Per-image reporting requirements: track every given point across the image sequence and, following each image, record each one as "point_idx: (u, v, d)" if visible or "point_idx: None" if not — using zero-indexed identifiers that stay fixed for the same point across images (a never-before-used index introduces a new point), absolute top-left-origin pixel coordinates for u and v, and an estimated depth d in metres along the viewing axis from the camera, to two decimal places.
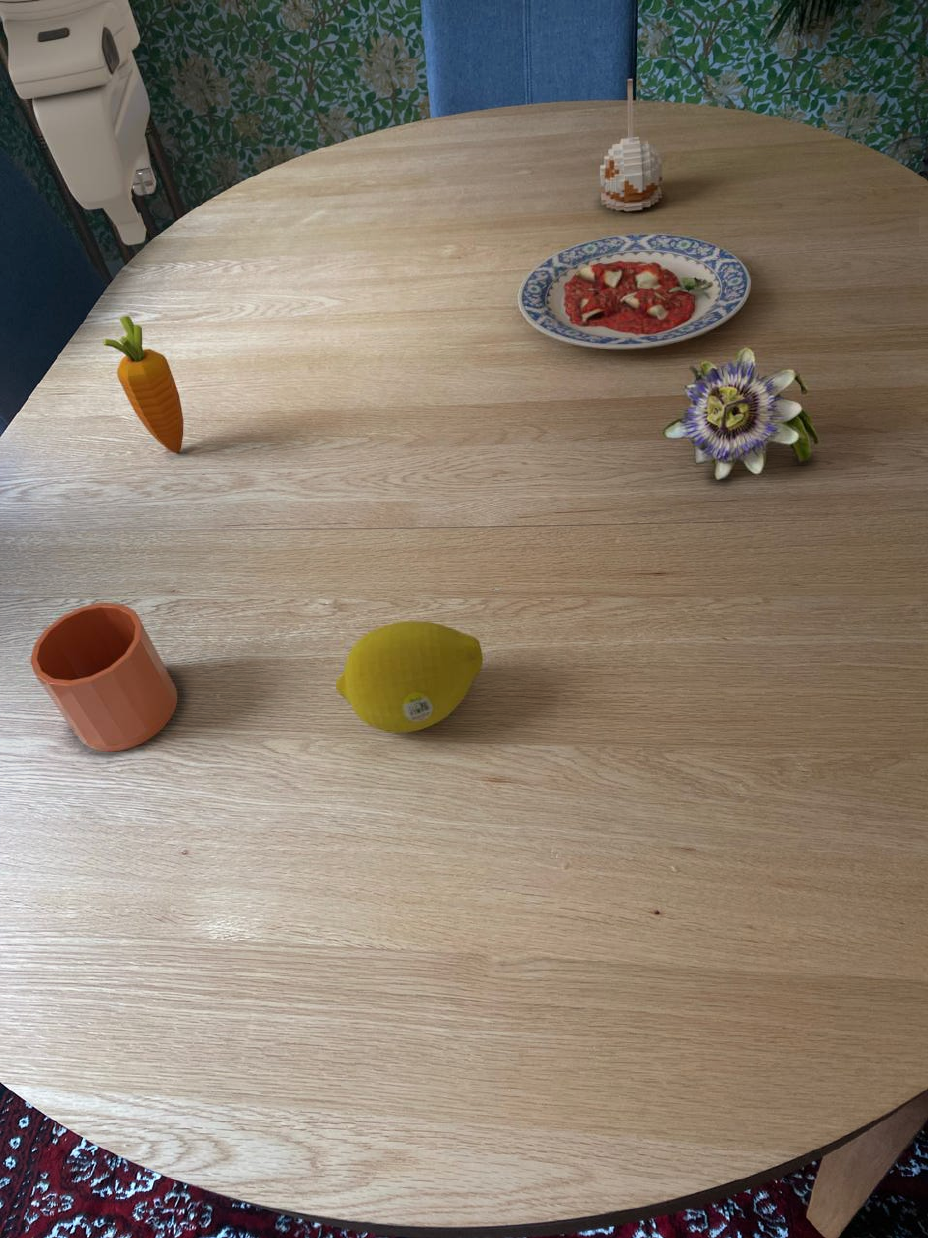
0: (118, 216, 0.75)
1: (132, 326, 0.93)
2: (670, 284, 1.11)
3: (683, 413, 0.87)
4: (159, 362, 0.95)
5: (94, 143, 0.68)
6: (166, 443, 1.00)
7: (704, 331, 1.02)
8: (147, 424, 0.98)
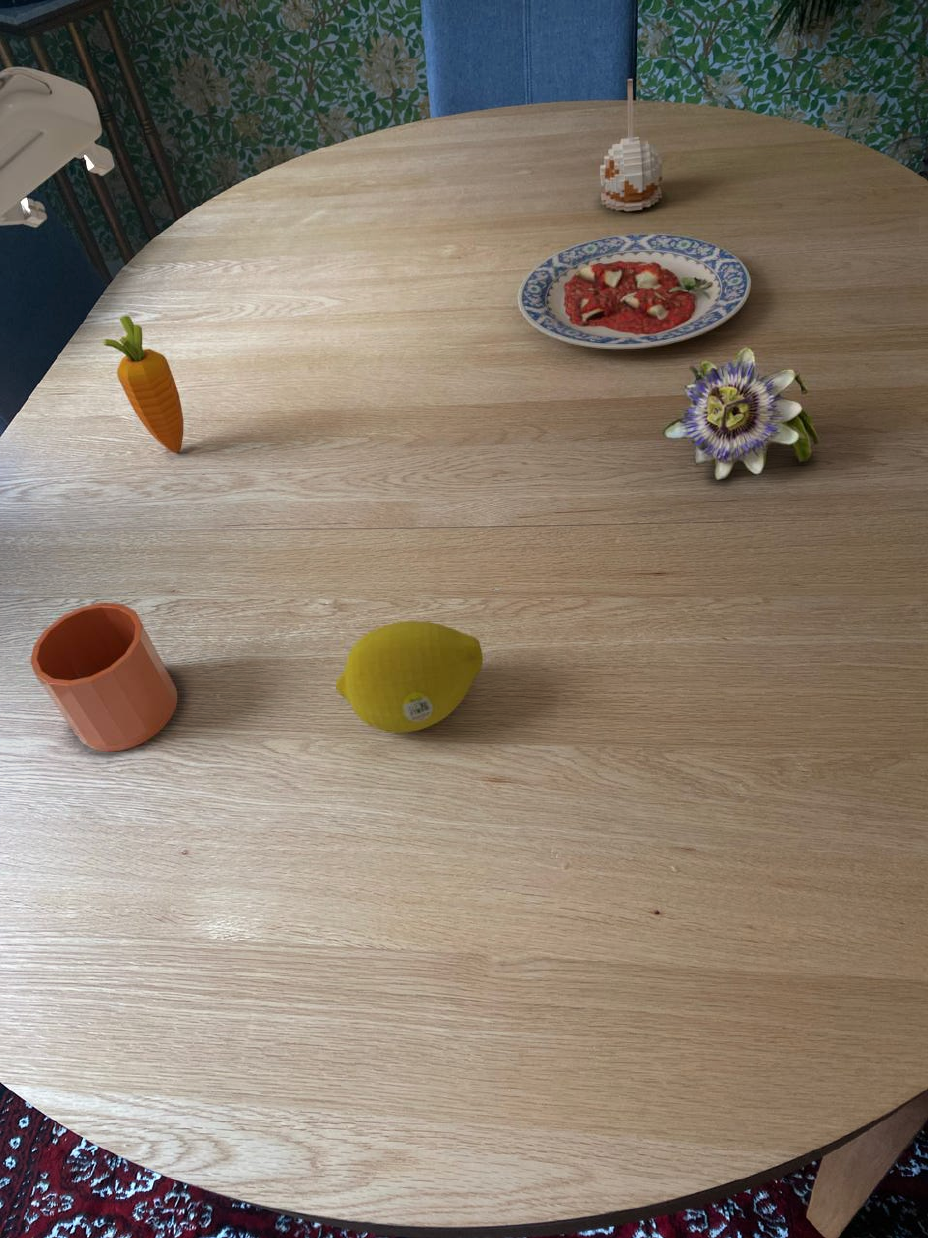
0: None
1: (132, 326, 0.93)
2: (670, 284, 1.11)
3: (683, 413, 0.87)
4: (159, 362, 0.95)
5: None
6: (166, 443, 1.00)
7: (704, 331, 1.02)
8: (147, 424, 0.98)
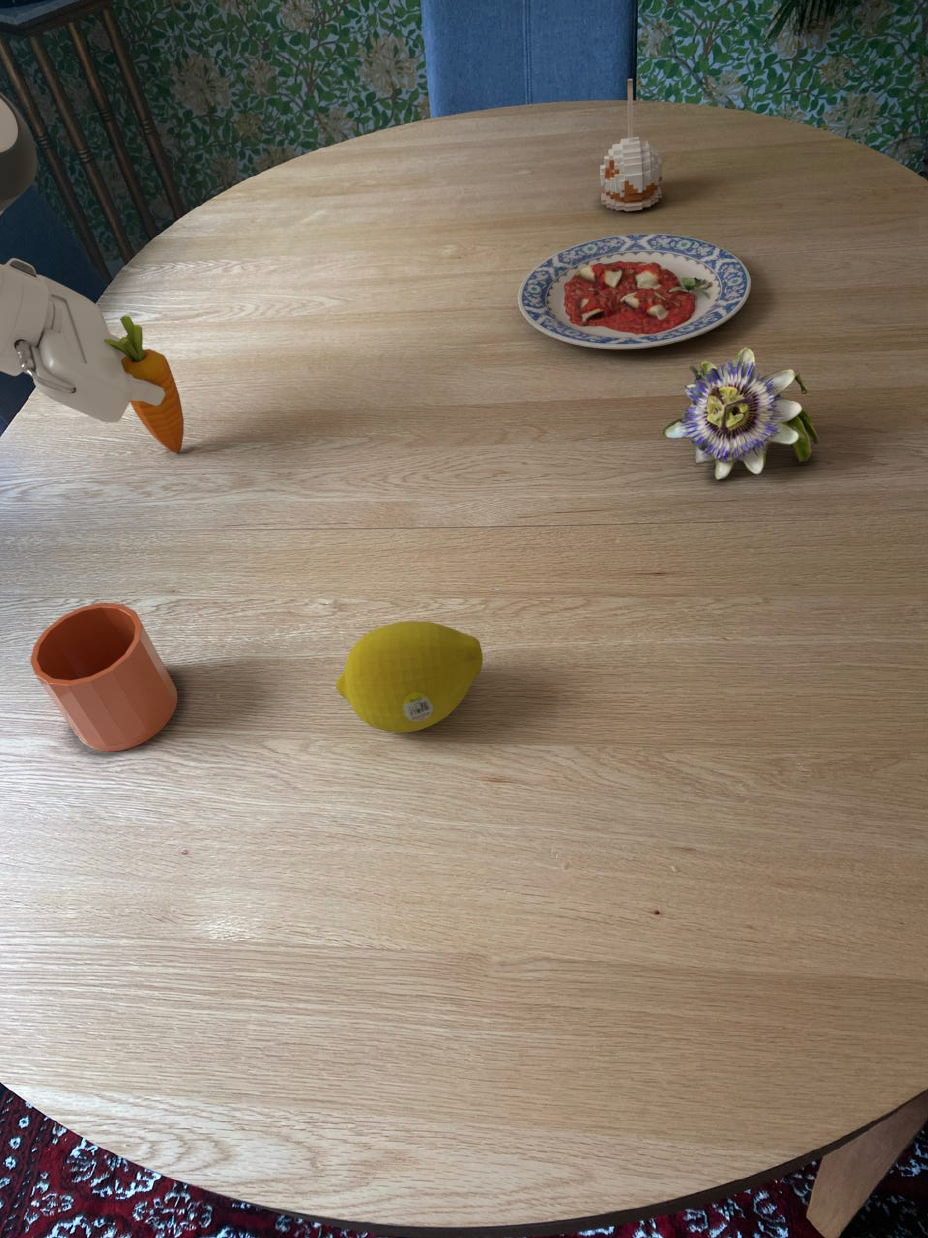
0: None
1: (132, 326, 0.93)
2: (670, 284, 1.11)
3: (683, 413, 0.87)
4: (159, 362, 0.95)
5: None
6: (166, 443, 1.00)
7: (704, 331, 1.02)
8: (147, 424, 0.98)
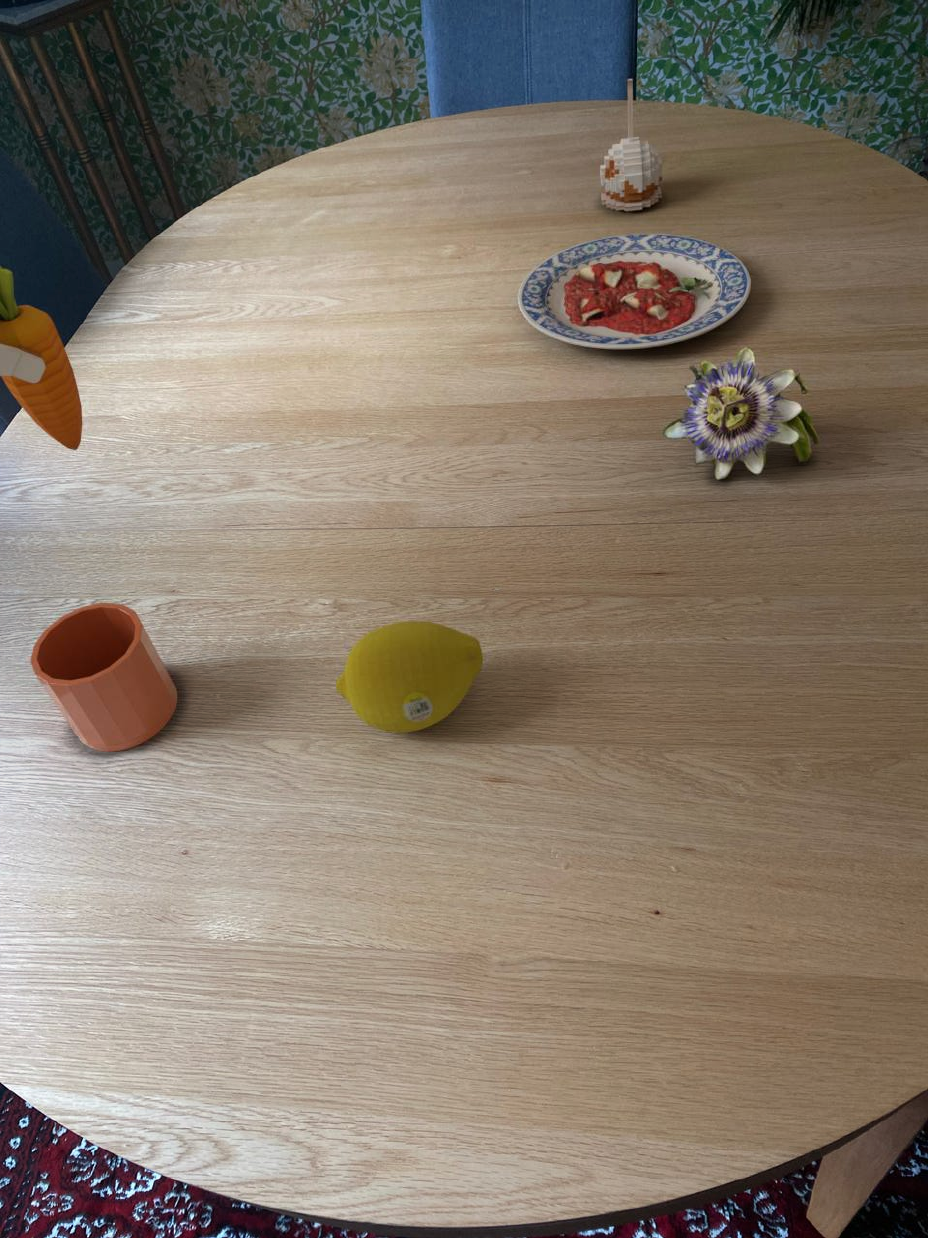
0: None
1: None
2: (670, 284, 1.11)
3: (683, 413, 0.87)
4: (39, 321, 0.68)
5: None
6: (57, 436, 0.74)
7: (704, 331, 1.02)
8: (28, 409, 0.72)
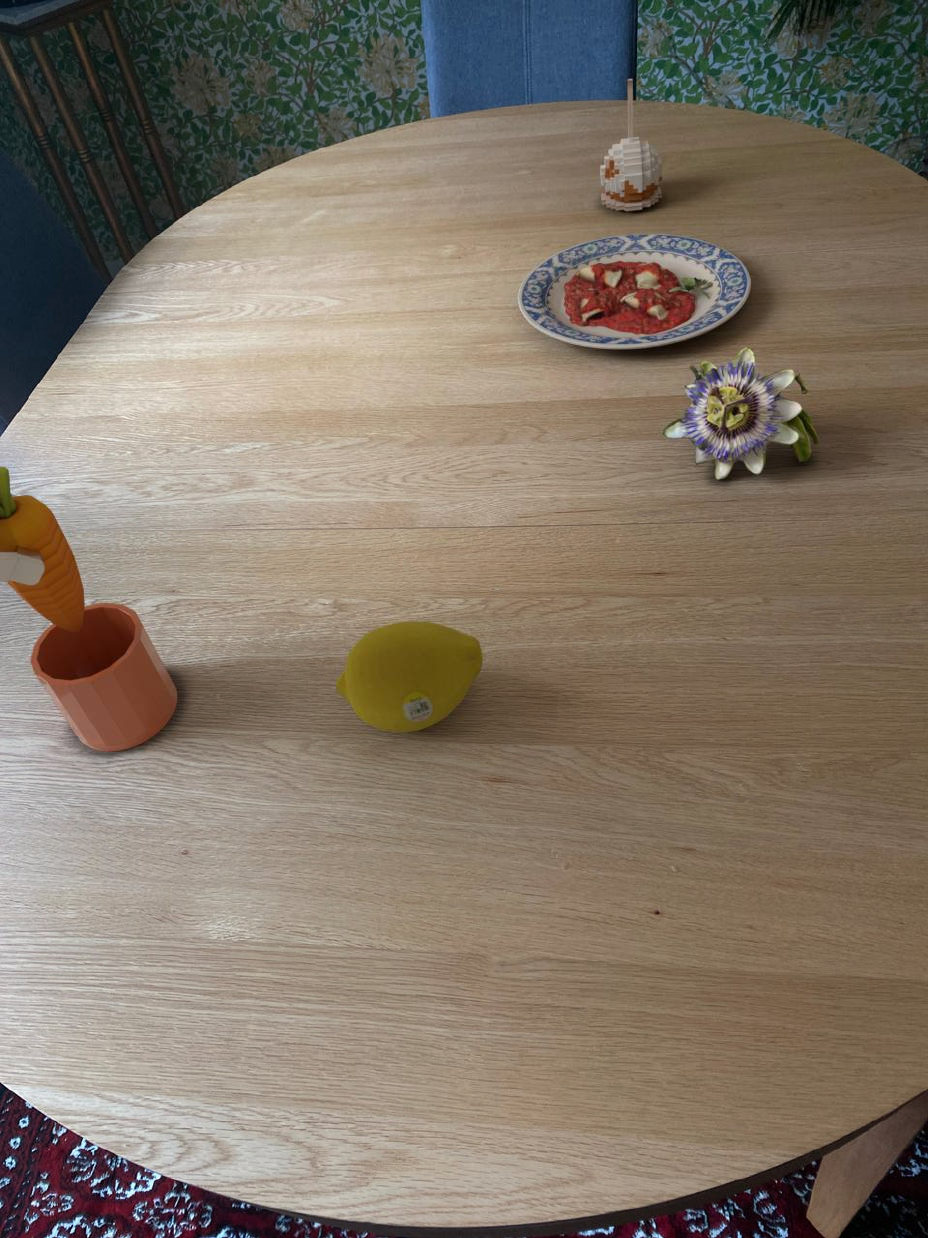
0: None
1: None
2: (670, 284, 1.11)
3: (683, 413, 0.87)
4: (38, 518, 0.63)
5: None
6: (57, 623, 0.69)
7: (704, 331, 1.02)
8: (27, 601, 0.67)
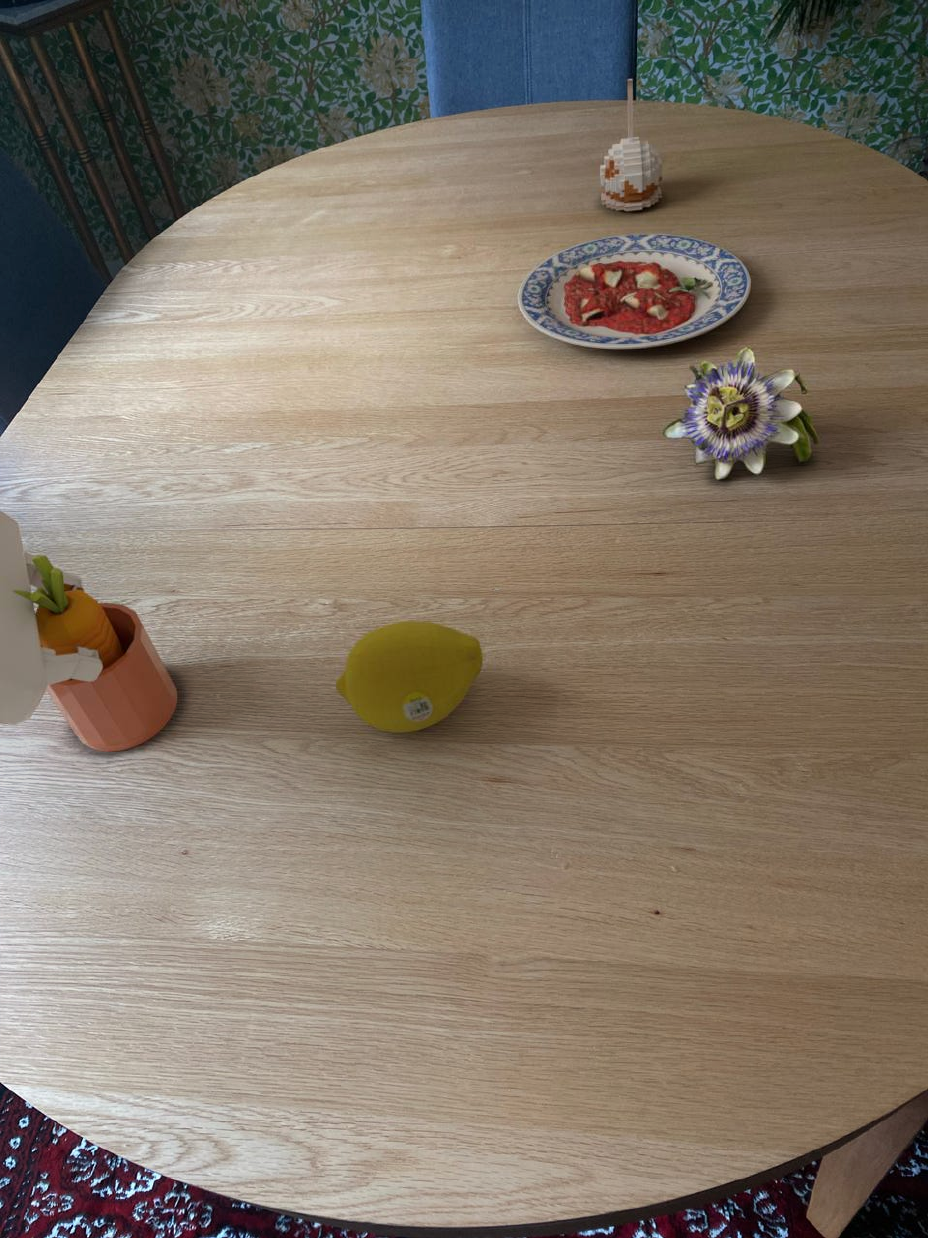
0: None
1: (50, 569, 0.68)
2: (670, 284, 1.11)
3: (683, 413, 0.87)
4: (88, 613, 0.69)
5: None
6: None
7: (704, 331, 1.02)
8: None
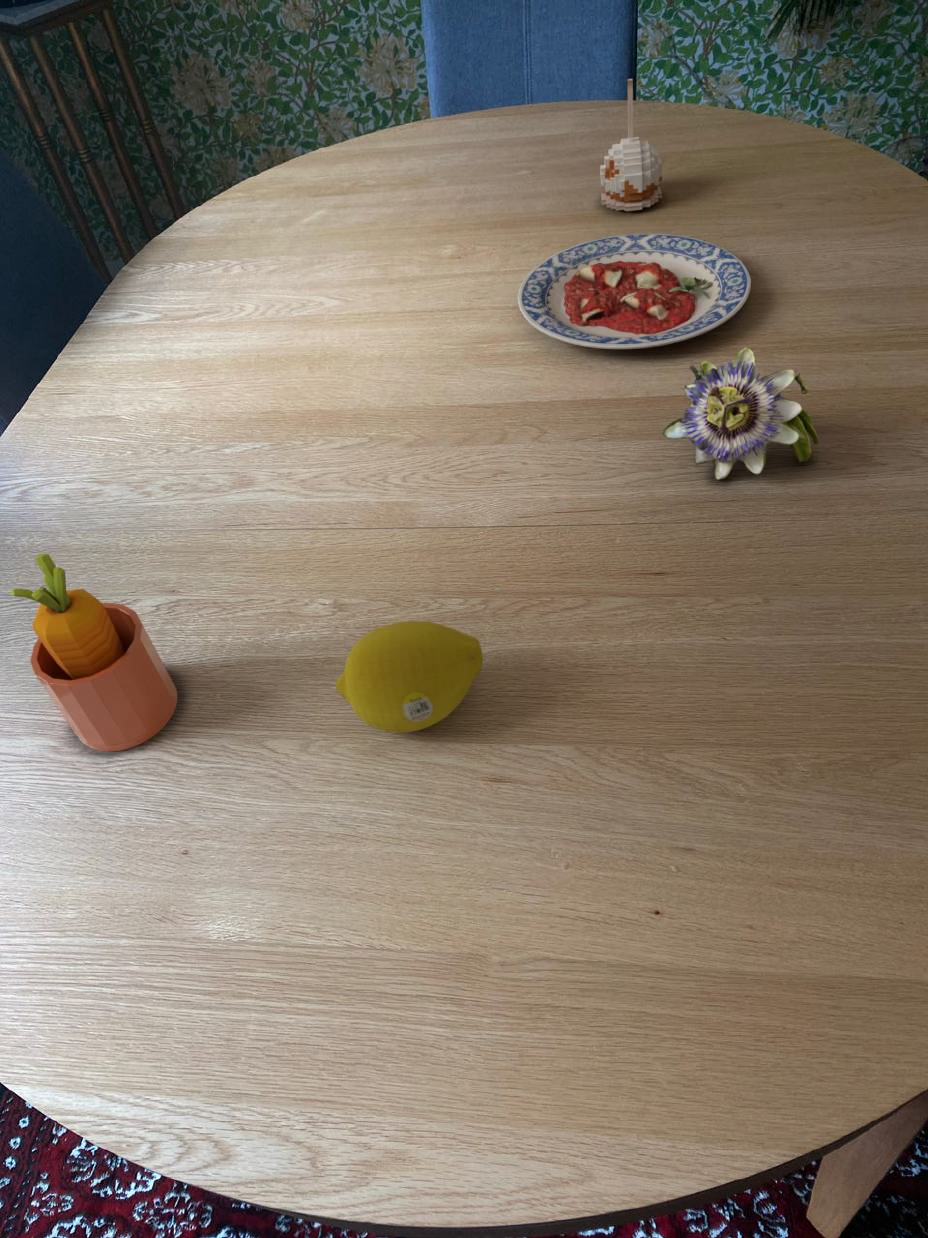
0: None
1: (52, 567, 0.68)
2: (670, 284, 1.11)
3: (683, 413, 0.87)
4: (90, 612, 0.69)
5: None
6: None
7: (704, 331, 1.02)
8: None
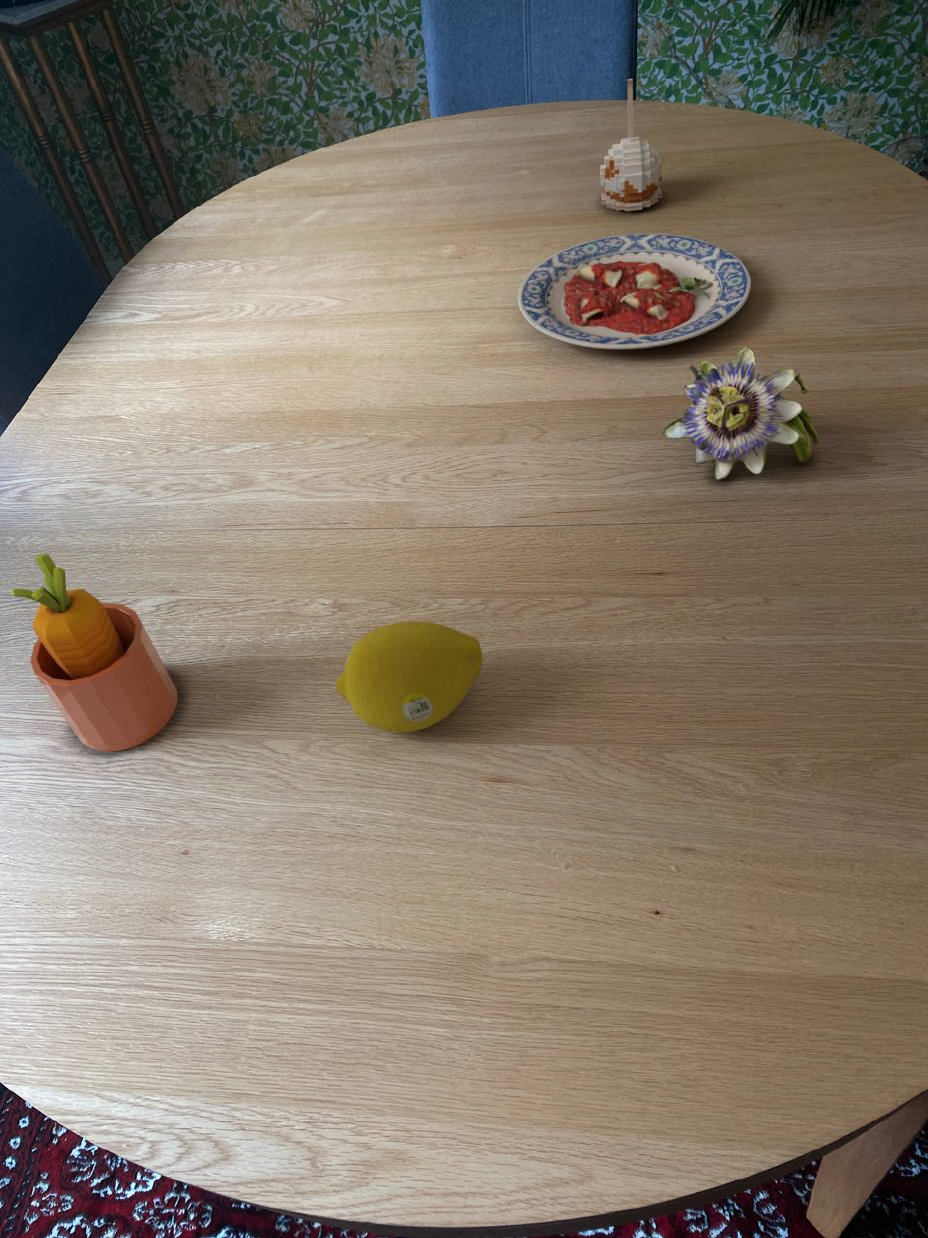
0: None
1: (52, 567, 0.68)
2: (670, 284, 1.11)
3: (683, 413, 0.87)
4: (90, 612, 0.69)
5: None
6: None
7: (704, 331, 1.02)
8: None
